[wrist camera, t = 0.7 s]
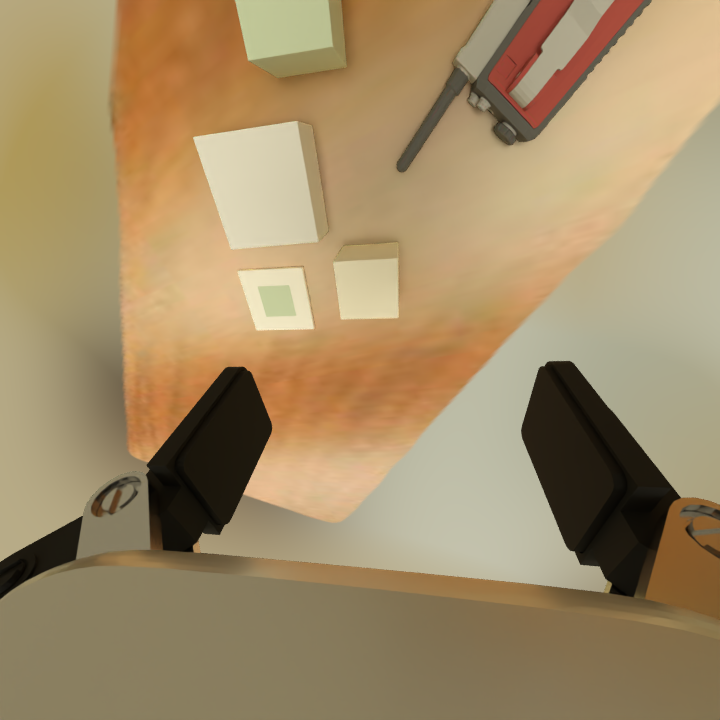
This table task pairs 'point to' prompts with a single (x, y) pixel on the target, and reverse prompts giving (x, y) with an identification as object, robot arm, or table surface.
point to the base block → (266, 184)
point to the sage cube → (293, 35)
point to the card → (278, 298)
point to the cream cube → (368, 281)
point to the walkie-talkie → (529, 62)
